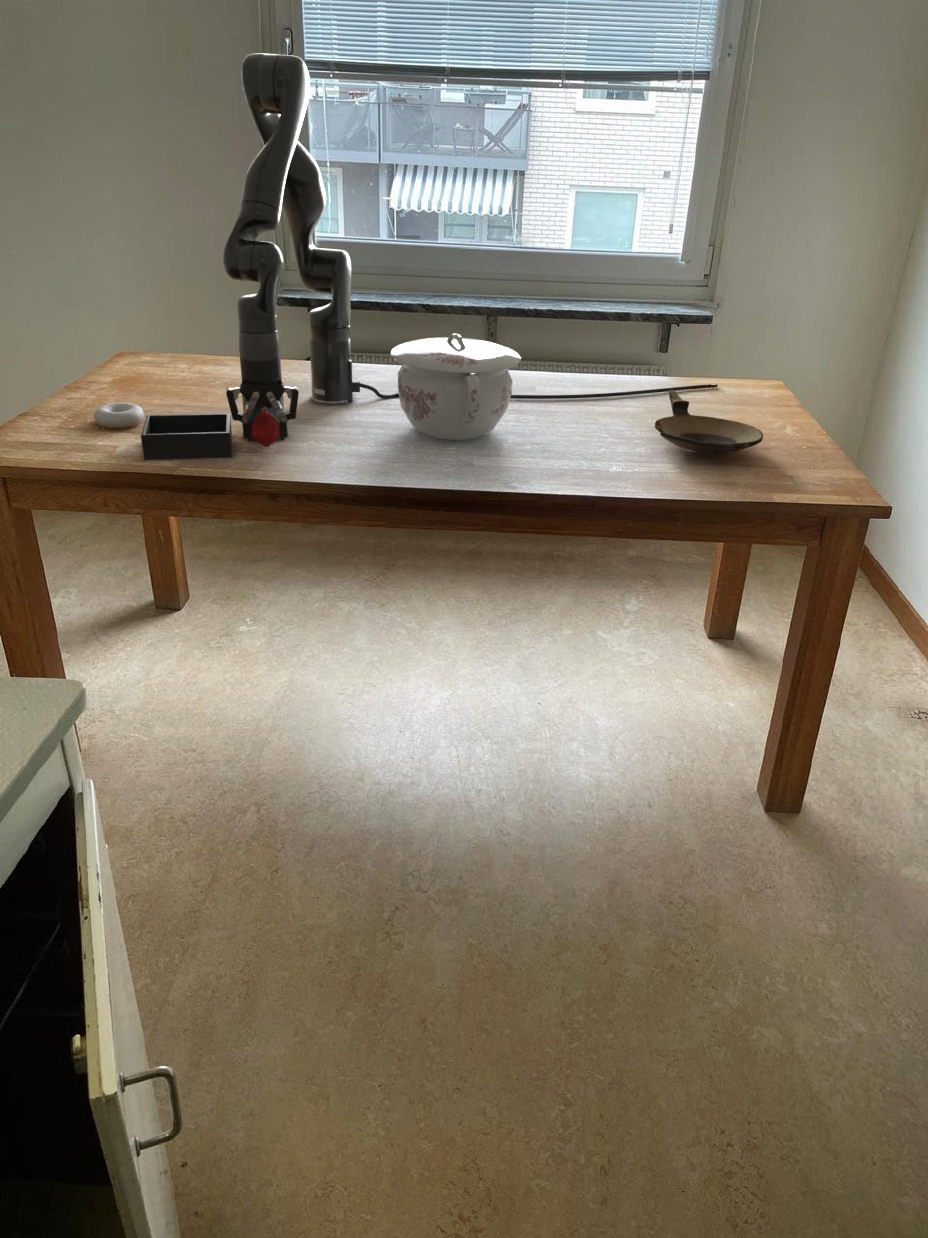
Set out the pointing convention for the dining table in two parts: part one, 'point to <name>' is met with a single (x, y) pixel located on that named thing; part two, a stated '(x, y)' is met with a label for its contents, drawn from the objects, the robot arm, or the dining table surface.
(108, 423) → the donut
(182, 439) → the black open box
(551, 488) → the dining table surface
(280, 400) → the cup
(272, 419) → the onion
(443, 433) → the chamber pot
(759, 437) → the frying pan
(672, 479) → the dining table surface
